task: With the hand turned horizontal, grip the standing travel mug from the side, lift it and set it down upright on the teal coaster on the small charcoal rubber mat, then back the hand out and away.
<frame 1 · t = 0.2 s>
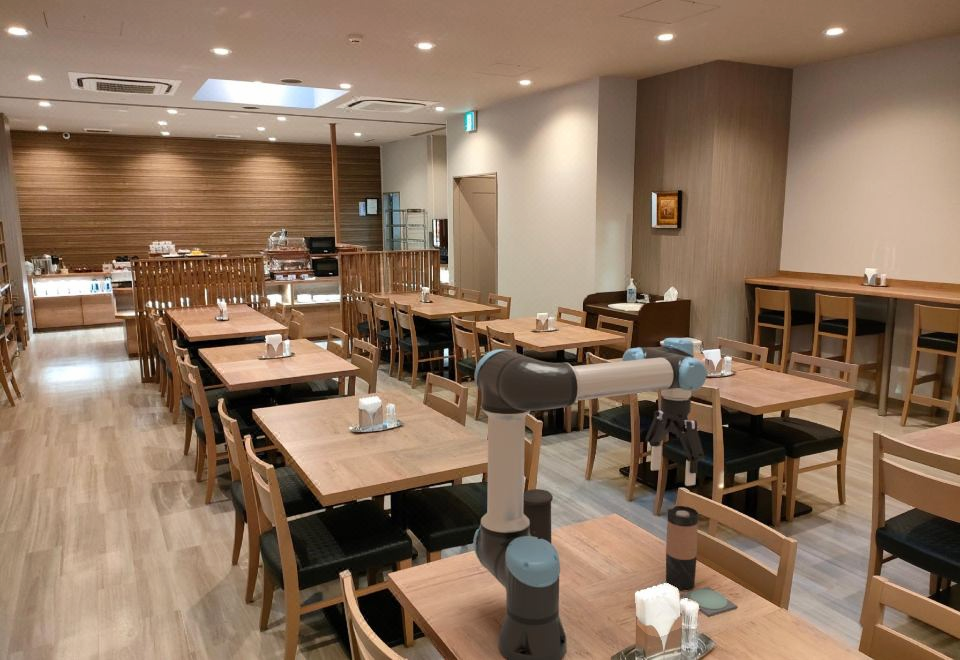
hand: (672, 477, 179), 27 cm above the table, tool pointing down, fingers open, 13 cm apart
placemat: (708, 602, 169), on the table
container: (536, 560, 191), on the table
travel mug: (680, 584, 178), on the table
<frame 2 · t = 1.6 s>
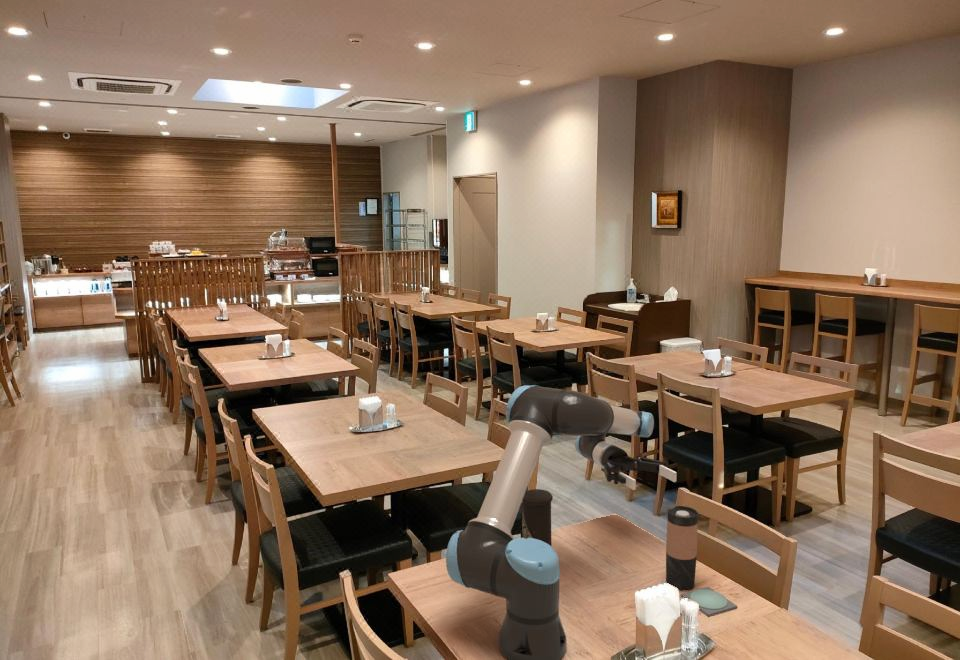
hand: (655, 481, 185), 24 cm above the table, tool horizontal, fingers open, 13 cm apart
nothing on the table moved.
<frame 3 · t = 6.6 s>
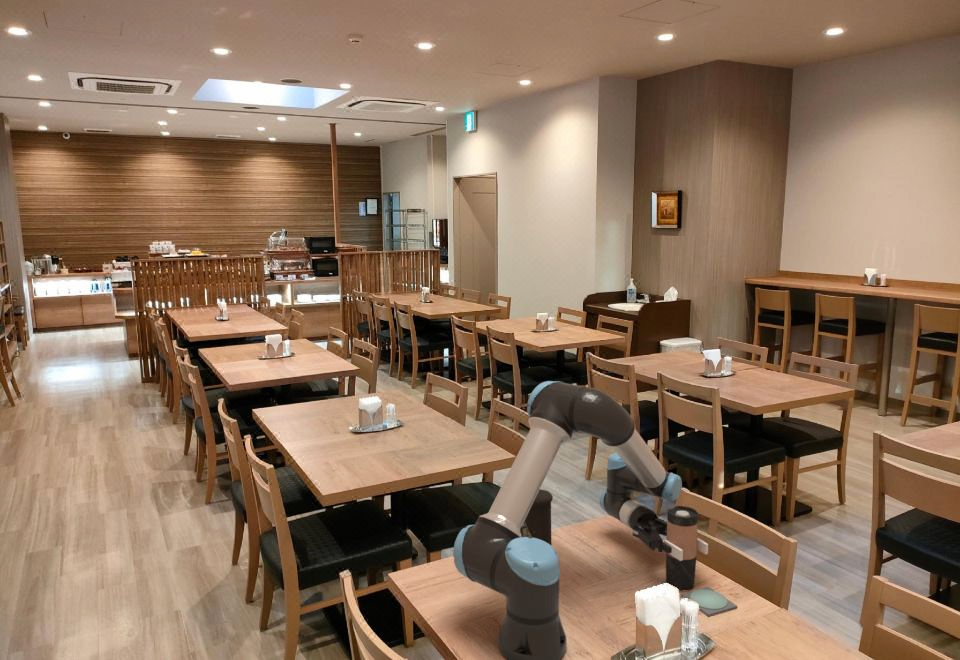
hand: (694, 552, 172), 11 cm above the table, tool horizontal, fingers closed on travel mug, 7 cm apart
travel mug: (679, 584, 178), on the table, touching gripper
everything else where it was.
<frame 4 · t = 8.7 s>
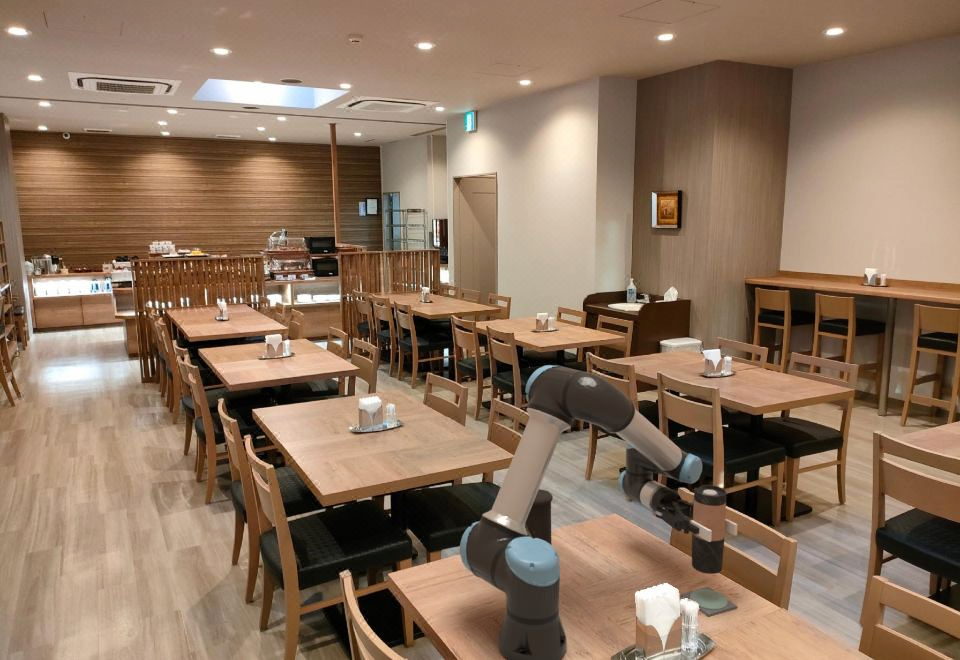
hand: (723, 533, 163), 20 cm above the table, tool horizontal, fingers closed on travel mug, 7 cm apart
travel mug: (706, 567, 169), point 8 cm above the table, touching gripper
everything else where it was.
when the fingers open (13 cm above the table, at t = 10.9 s): travel mug stays where it is, resting on placemat.
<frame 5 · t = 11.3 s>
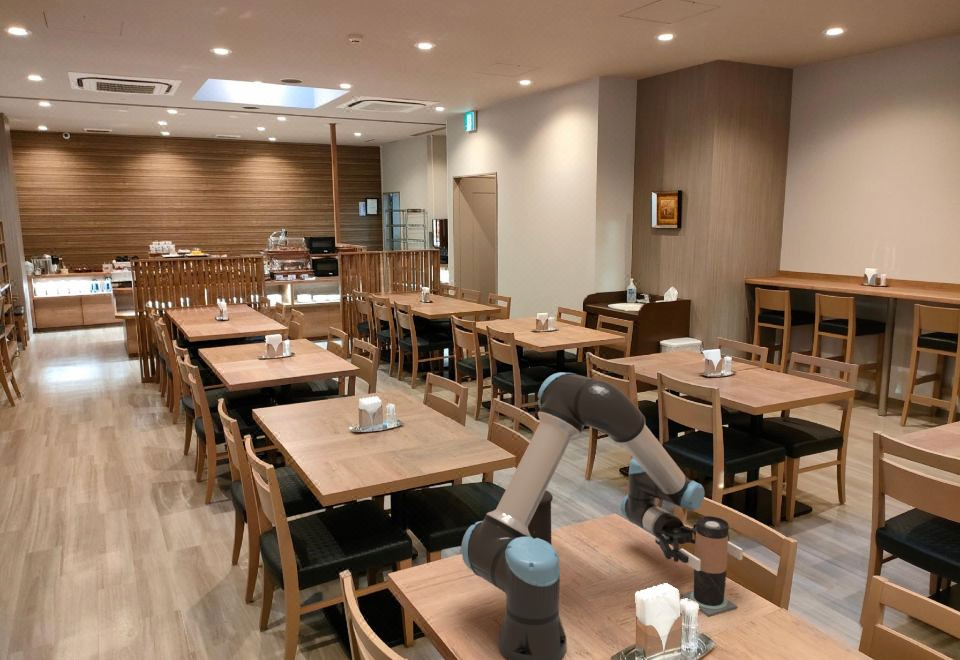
hand: (720, 560, 164), 13 cm above the table, tool horizontal, fingers open, 12 cm apart
travel mug: (708, 599, 169), point 1 cm above the table, touching placemat
everything else where it was.
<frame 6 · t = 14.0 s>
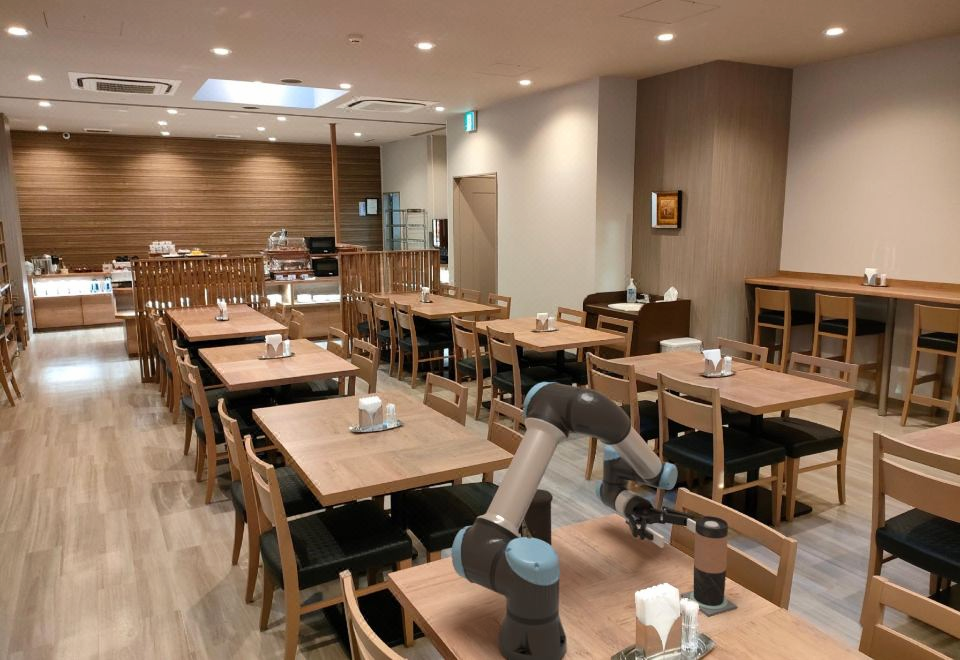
hand: (684, 537, 176), 13 cm above the table, tool horizontal, fingers open, 13 cm apart
nothing on the table moved.
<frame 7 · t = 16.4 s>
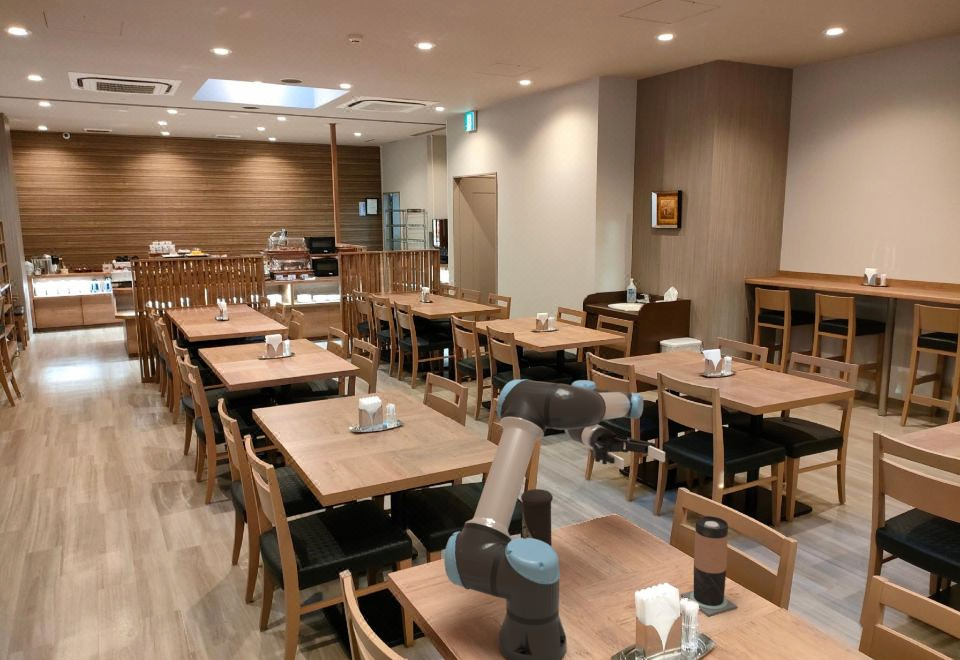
hand: (643, 460, 184), 30 cm above the table, tool horizontal, fingers open, 13 cm apart
nothing on the table moved.
at the end: travel mug 0.1 cm off-centre on the placemat, point 0.8 cm above the placemat's base; travel mug tilted 0°; the gripper is holding nothing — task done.
